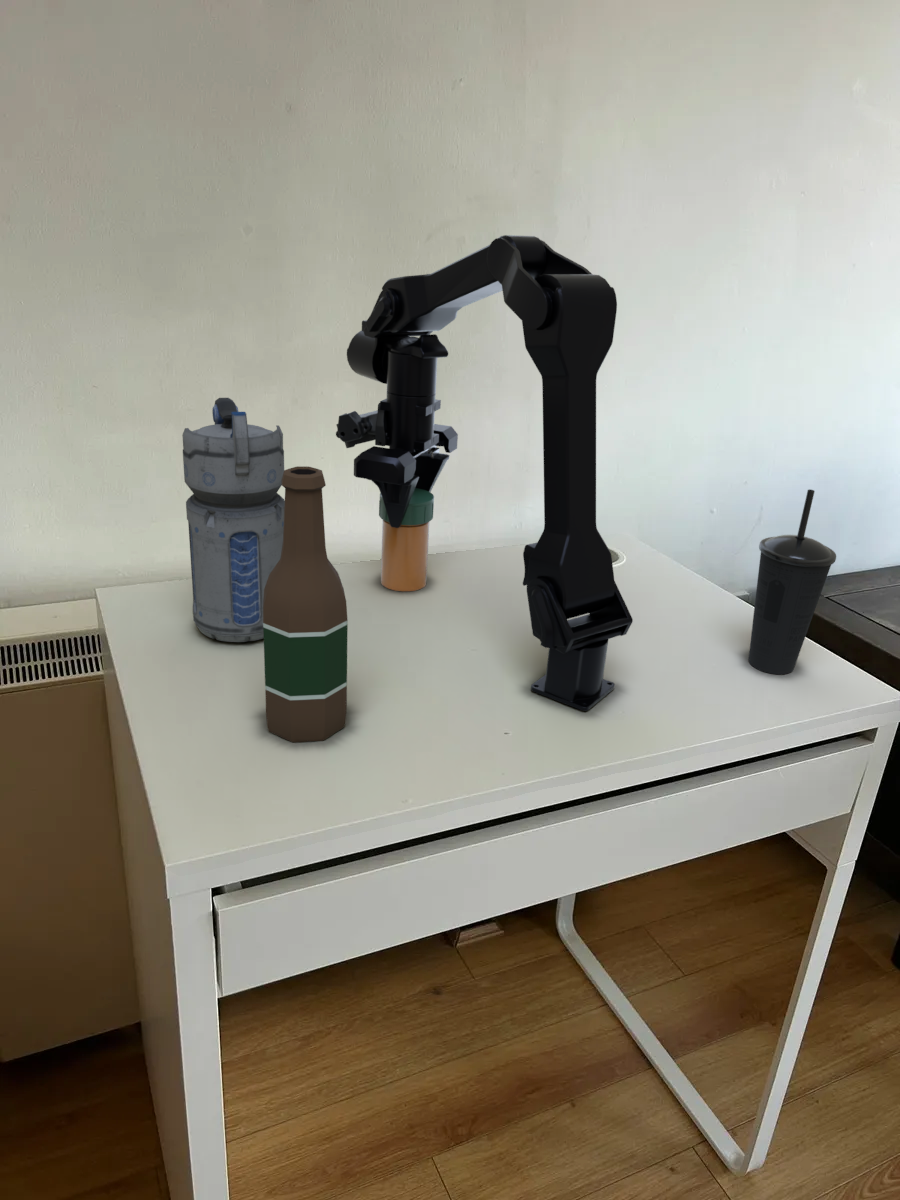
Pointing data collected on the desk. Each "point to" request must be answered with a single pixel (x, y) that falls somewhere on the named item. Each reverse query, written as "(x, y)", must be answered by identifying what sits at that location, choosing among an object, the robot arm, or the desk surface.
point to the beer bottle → (304, 622)
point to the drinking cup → (787, 596)
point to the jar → (404, 556)
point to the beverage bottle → (233, 520)
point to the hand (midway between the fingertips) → (406, 518)
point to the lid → (414, 508)
